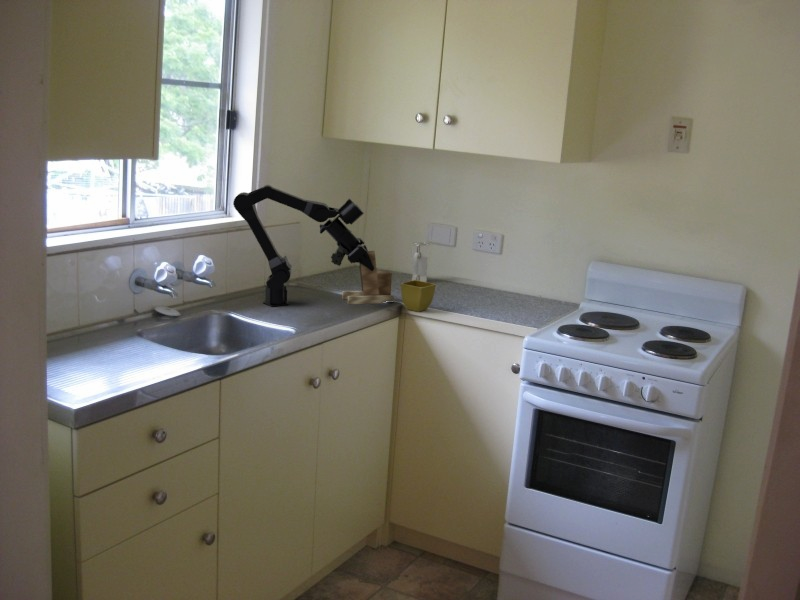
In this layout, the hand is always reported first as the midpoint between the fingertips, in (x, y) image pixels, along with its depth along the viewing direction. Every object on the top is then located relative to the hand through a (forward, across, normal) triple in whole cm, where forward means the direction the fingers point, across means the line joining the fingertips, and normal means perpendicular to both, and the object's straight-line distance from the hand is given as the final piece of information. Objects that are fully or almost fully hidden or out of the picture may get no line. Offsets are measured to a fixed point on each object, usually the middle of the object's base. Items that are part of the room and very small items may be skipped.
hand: (373, 268), depth 296 cm
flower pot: (+20, +1, +1) cm, 20 cm away
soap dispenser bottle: (+24, -45, +5) cm, 51 cm away
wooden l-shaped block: (+8, -10, -10) cm, 16 cm away
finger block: (+6, 0, -6) cm, 9 cm away
